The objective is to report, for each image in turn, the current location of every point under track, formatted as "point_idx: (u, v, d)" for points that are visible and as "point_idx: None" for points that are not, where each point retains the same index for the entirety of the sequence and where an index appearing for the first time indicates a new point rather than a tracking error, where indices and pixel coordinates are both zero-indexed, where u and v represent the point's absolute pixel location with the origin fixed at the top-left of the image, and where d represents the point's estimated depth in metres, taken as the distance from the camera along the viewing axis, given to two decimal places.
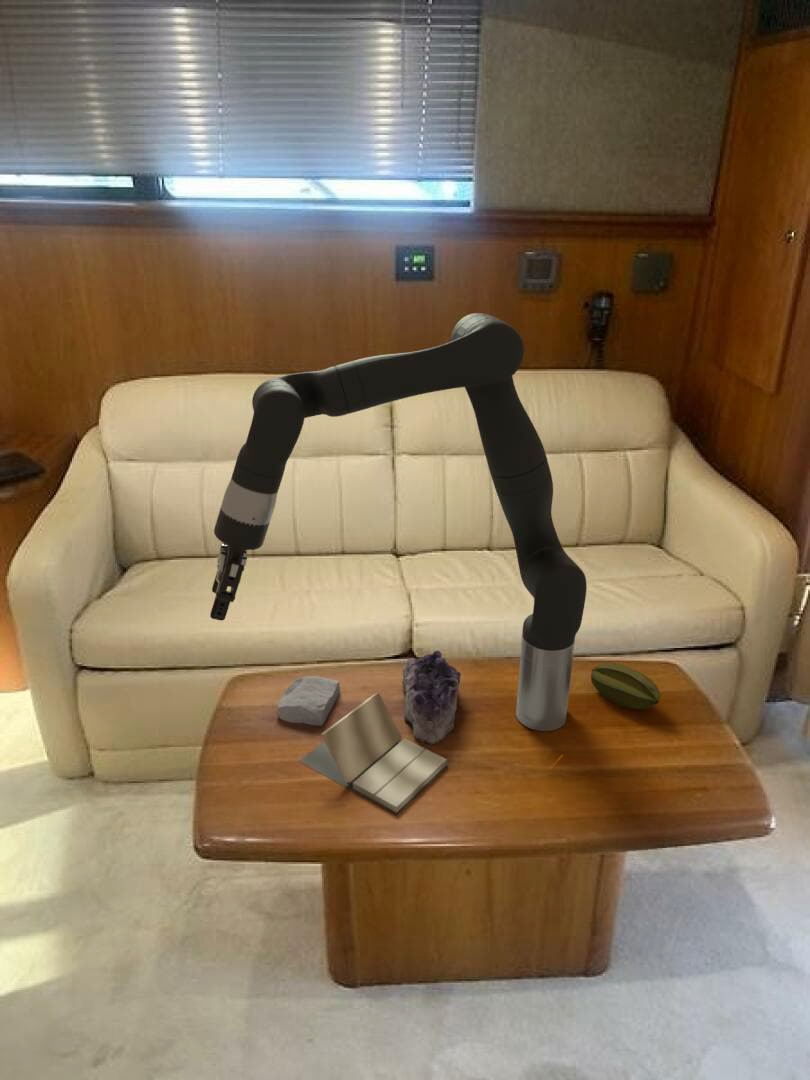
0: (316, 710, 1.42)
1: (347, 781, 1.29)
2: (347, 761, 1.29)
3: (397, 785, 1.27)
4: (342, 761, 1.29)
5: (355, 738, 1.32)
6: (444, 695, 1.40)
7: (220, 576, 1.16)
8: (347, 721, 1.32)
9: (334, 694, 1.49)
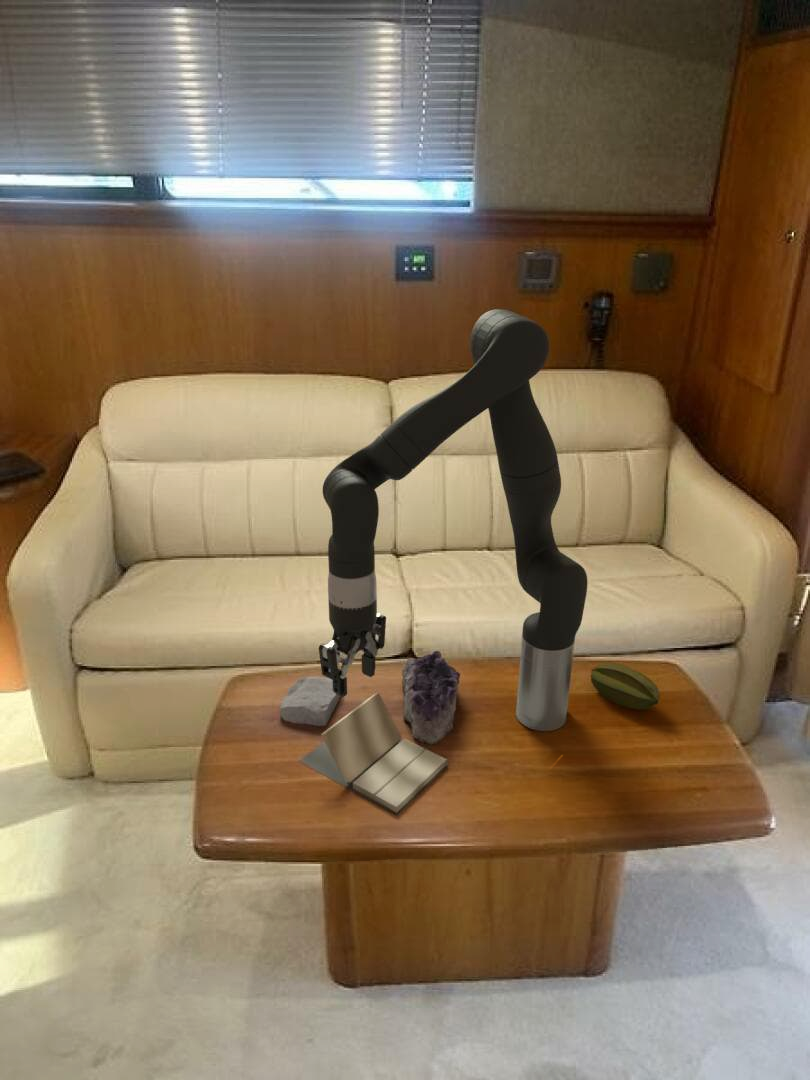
0: (319, 711, 1.42)
1: (347, 781, 1.29)
2: (347, 761, 1.29)
3: (397, 785, 1.27)
4: (342, 761, 1.29)
5: (355, 738, 1.32)
6: (443, 695, 1.39)
7: None
8: (347, 721, 1.32)
9: None
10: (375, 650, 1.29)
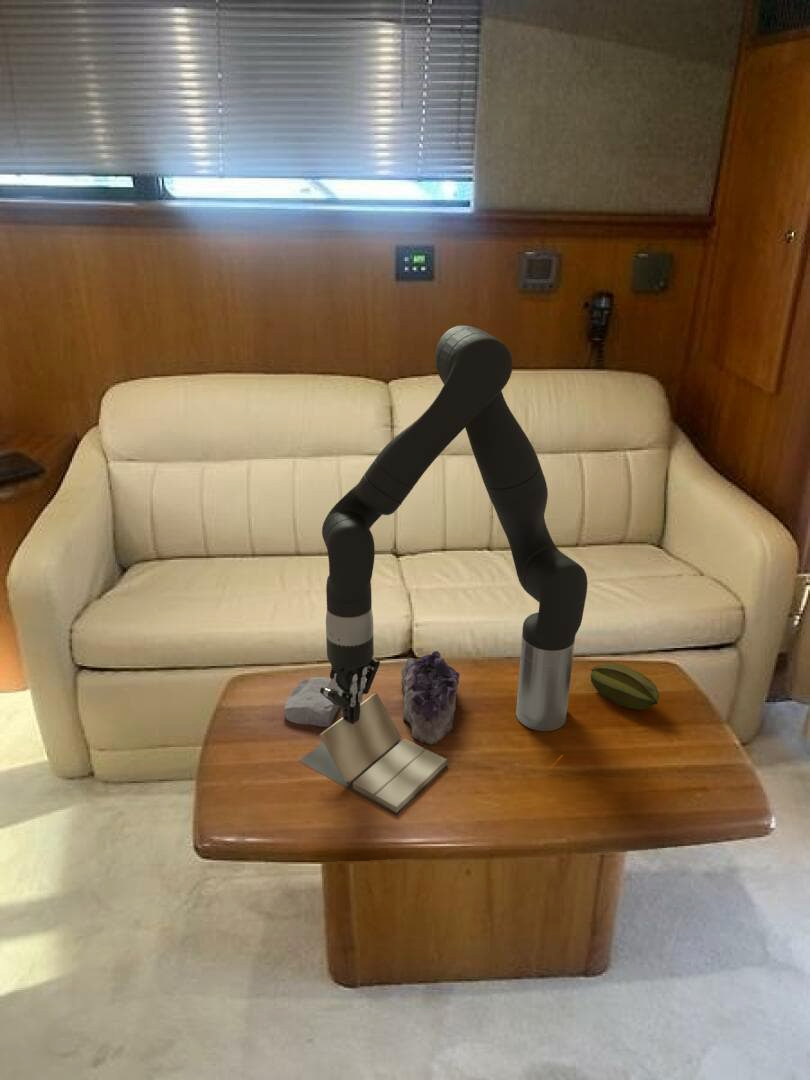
0: (323, 711, 1.42)
1: (347, 781, 1.29)
2: (347, 761, 1.29)
3: (397, 785, 1.27)
4: (341, 761, 1.29)
5: (354, 738, 1.32)
6: (443, 695, 1.39)
7: (338, 688, 1.29)
8: (345, 721, 1.32)
9: None
10: (360, 696, 1.30)
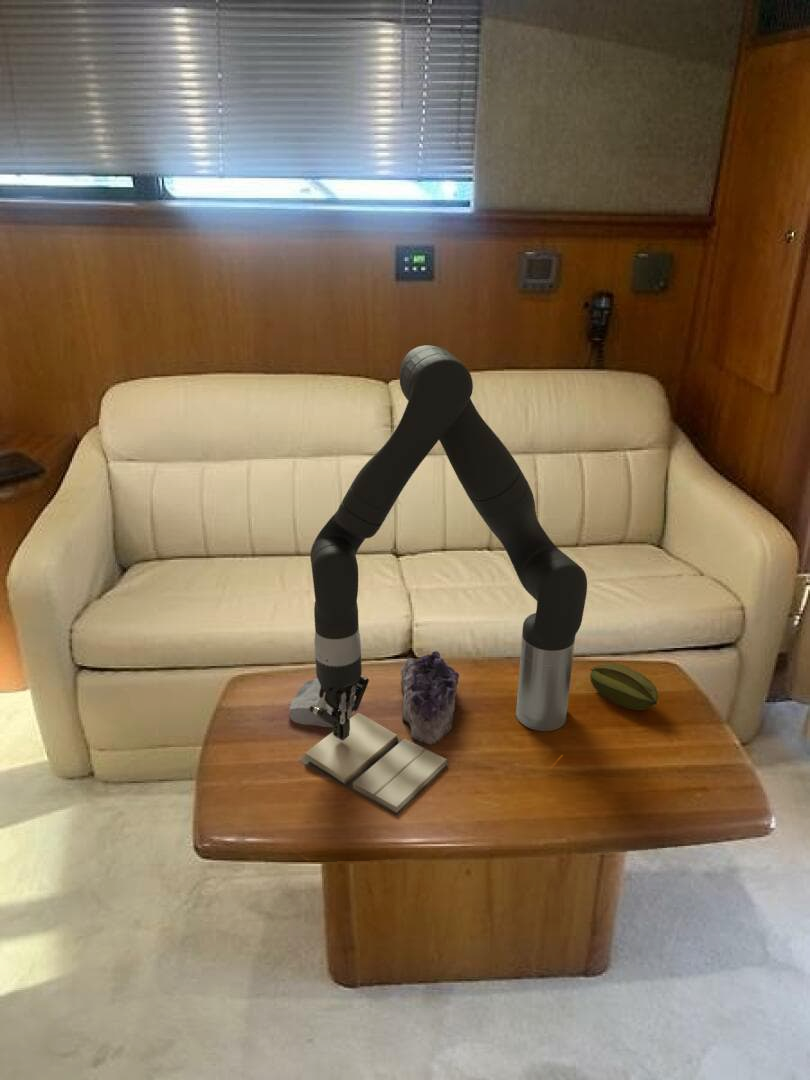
0: (329, 712, 1.42)
1: (344, 781, 1.29)
2: (337, 765, 1.31)
3: (397, 785, 1.27)
4: (331, 766, 1.31)
5: (341, 748, 1.35)
6: (442, 696, 1.39)
7: (328, 706, 1.33)
8: (328, 738, 1.37)
9: None
10: (349, 713, 1.34)
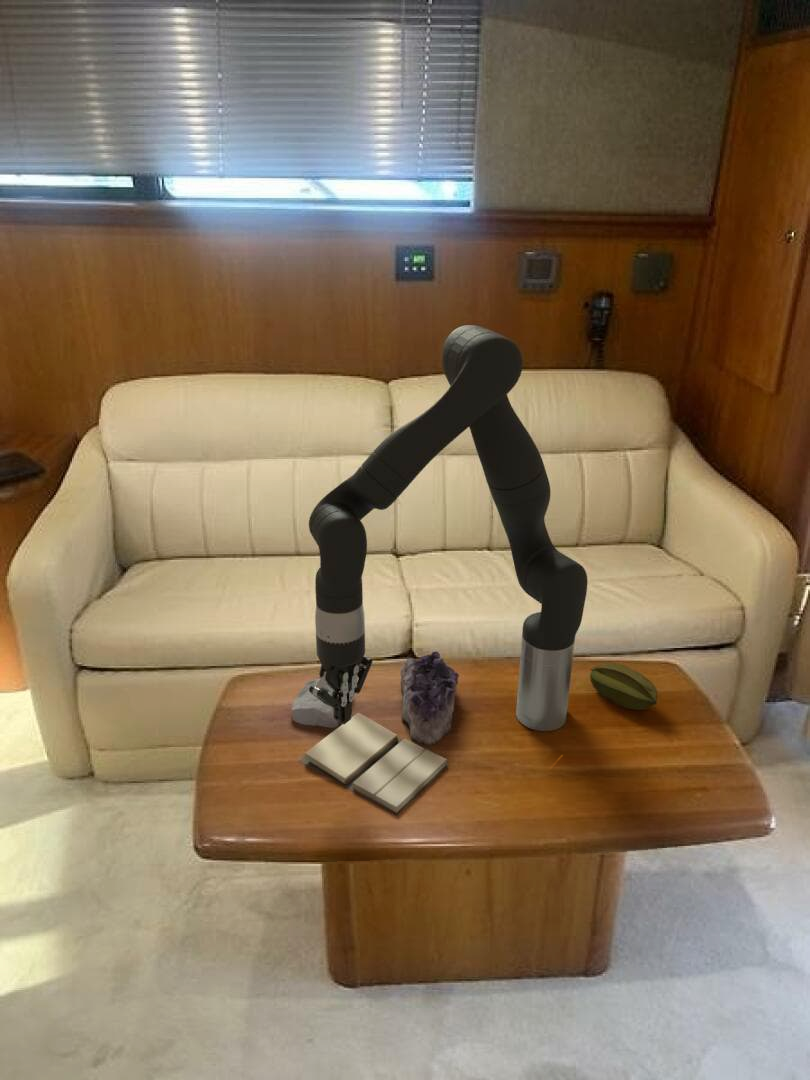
0: (331, 712, 1.42)
1: (344, 781, 1.29)
2: (337, 765, 1.31)
3: (397, 785, 1.27)
4: (331, 766, 1.31)
5: (341, 748, 1.35)
6: (441, 696, 1.39)
7: (329, 687, 1.24)
8: (328, 738, 1.37)
9: None
10: (351, 695, 1.25)
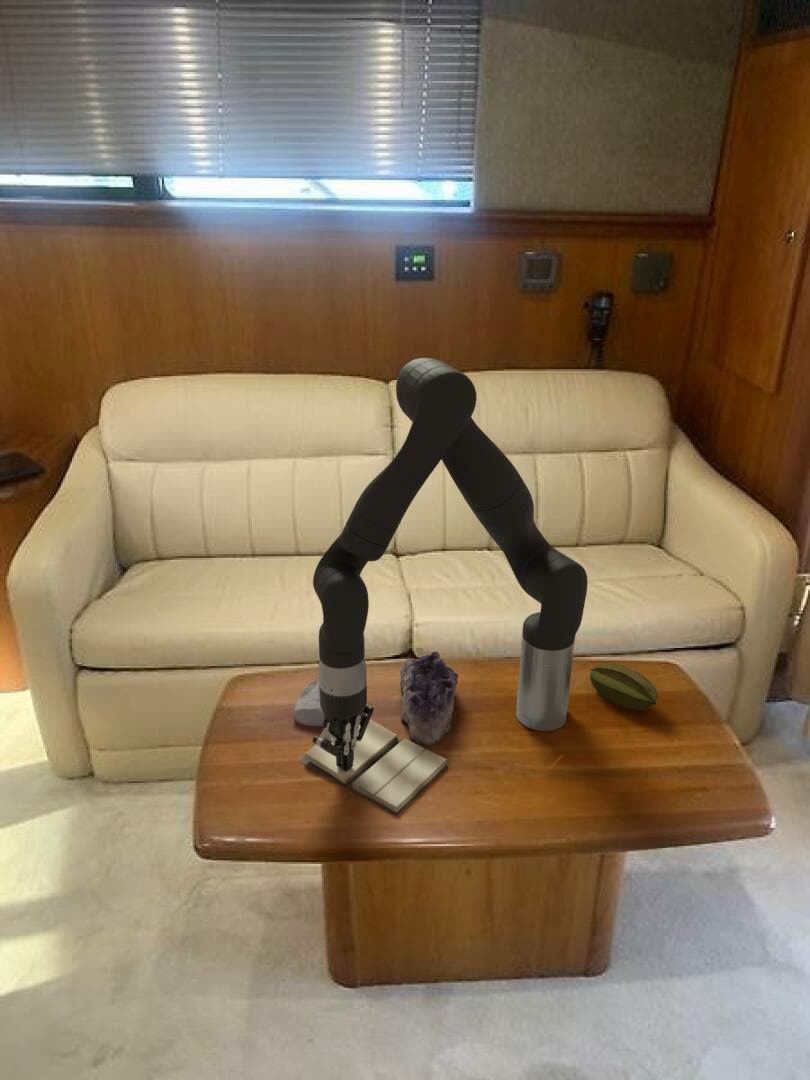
0: None
1: (344, 781, 1.29)
2: None
3: (397, 785, 1.27)
4: (331, 766, 1.31)
5: None
6: (440, 696, 1.39)
7: (332, 736, 1.28)
8: None
9: None
10: (353, 743, 1.29)
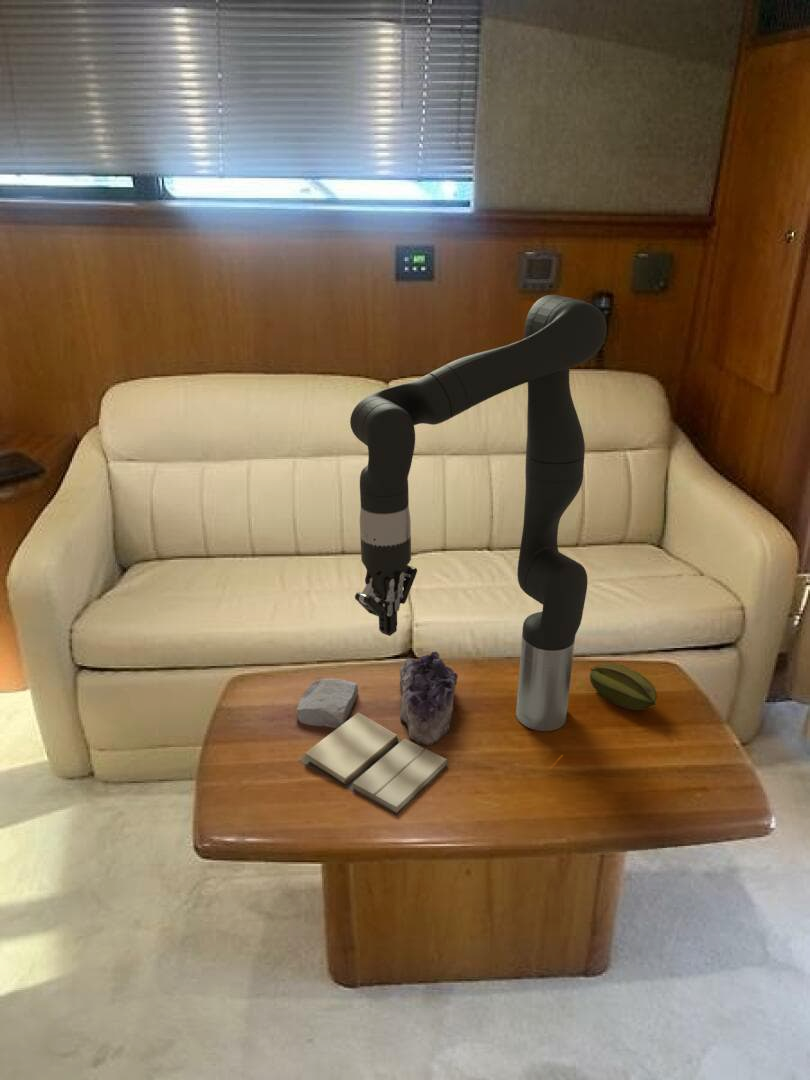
0: (336, 713, 1.42)
1: (344, 781, 1.29)
2: (337, 765, 1.31)
3: (397, 785, 1.27)
4: (331, 766, 1.31)
5: (341, 748, 1.35)
6: (440, 696, 1.39)
7: (374, 597, 1.21)
8: (328, 738, 1.37)
9: (353, 696, 1.48)
10: (397, 605, 1.22)
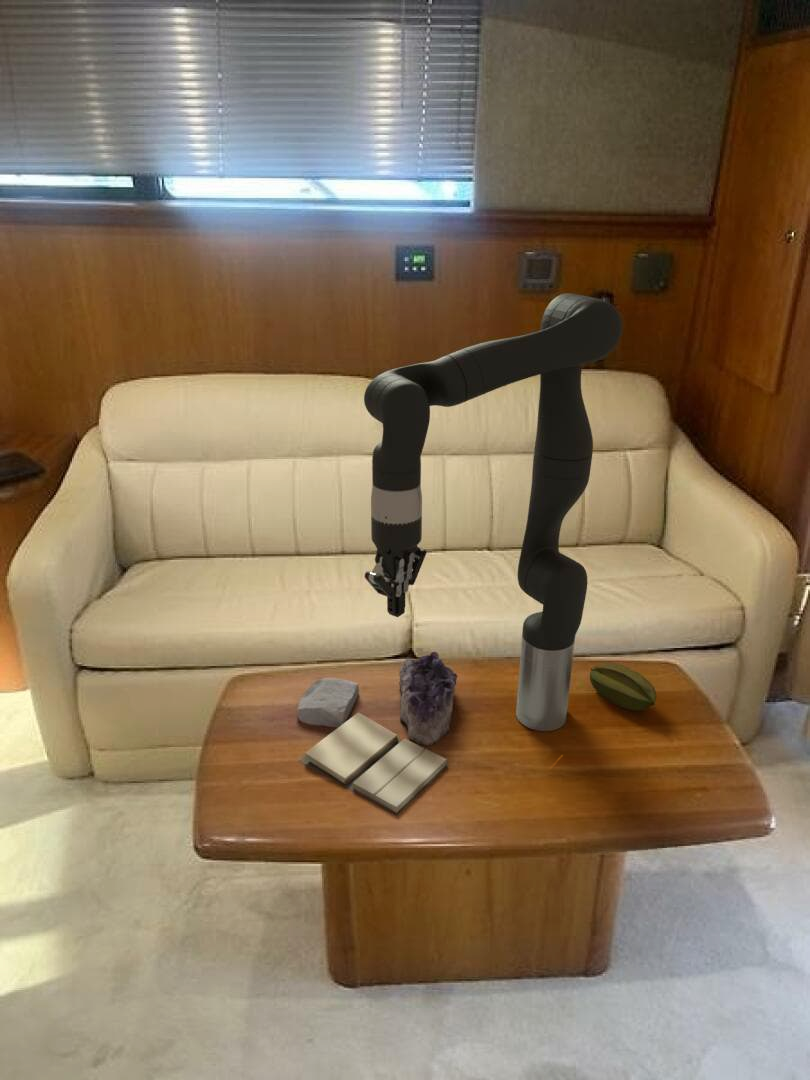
0: (337, 712, 1.42)
1: (344, 781, 1.29)
2: (337, 765, 1.31)
3: (397, 785, 1.27)
4: (331, 766, 1.31)
5: (341, 748, 1.35)
6: (439, 696, 1.39)
7: None
8: (328, 738, 1.37)
9: (353, 696, 1.48)
10: (406, 586, 1.21)
